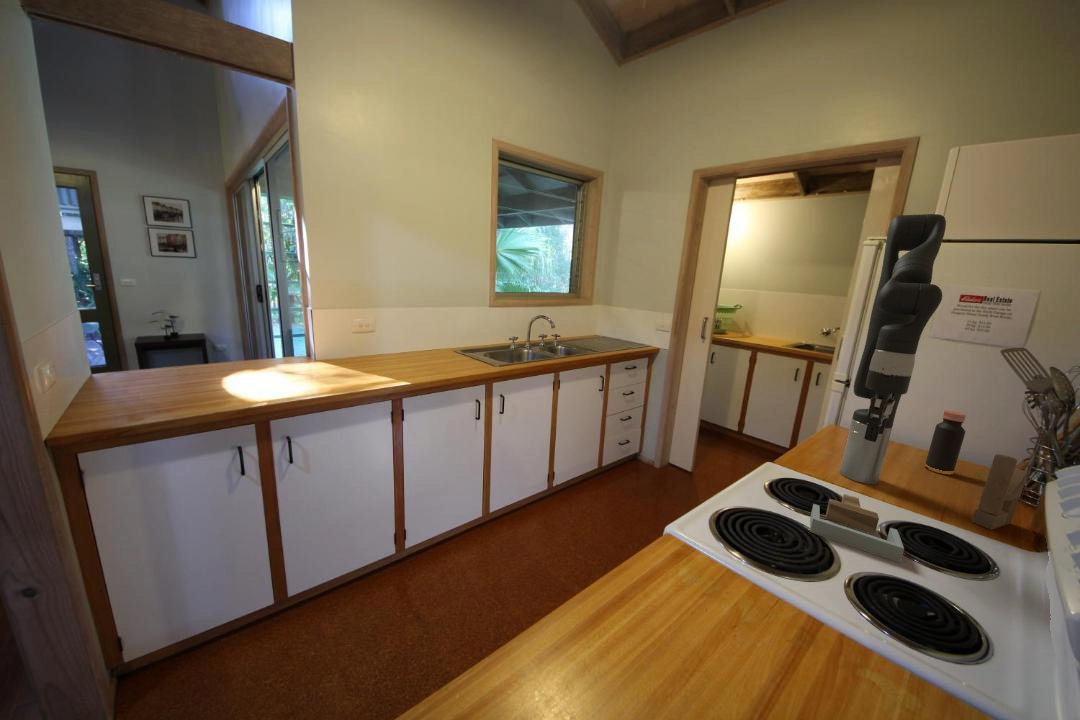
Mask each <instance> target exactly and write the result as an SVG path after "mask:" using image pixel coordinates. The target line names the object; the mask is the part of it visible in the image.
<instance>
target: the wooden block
mask: <svg viewBox="0 0 1080 720" xmlns="http://www.w3.org/2000/svg"><path fill="white" fill-rule="evenodd" d="M1017 463H1018V460H1017V458H1015V457H1012V456H1008V455H1005V454H1000V453H999V454H997V453H996V454H995V455H994V457H993V460H992V464H991V466H990V469H989V471H988V475H987V478H986V482H985V485H984V488H983V492H982V493H981V494H982V495H981V496H980V497H981V498H980V501H979V503H978V508H977V509H975V510H974V514H973V517H972V519H971V523H973V524H976V525H978V526H980V527H983V528H985V529H987V530H990V531H993V530H995V529H997V528H1002V527H1004V526H1008V525H1010V524H1012V522H1013V518H1014V515H1015V513H1016V512H1015V511H1016V509H1017V506H1018V504H1019V500H1020V498H1021V495H1022V493H1023V489H1024V487H1025V484H1026V480H1027V477H1028V474H1029V471H1028V470H1027V471H1026V470H1023V469H1020V468H1019V467H1018V468H1017V467H1016V466H1017Z"/></svg>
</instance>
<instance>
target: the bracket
mask: <svg viewBox="0 0 1080 720" xmlns="http://www.w3.org/2000/svg"><path fill="white" fill-rule="evenodd" d="M820 515H821V514H820V505H818V504H815V503H813V504H812V508H811V513H810V517H809V518H810V520H809V521H810V522H809V523H810V524H809V532H810V533H813V534H815V535H818V536H821V537H824V538H827V539H829V540H832V541H835V542H838V543H841V544H843V545H847V546H848V547H849V546H850V547H853V548H855V549H858V550H861V551H864V552H867V553H870V554H873V555H875V556H878V557H880V558H881V557H882V558H885V559H887V560H890V561H893V562H895V563H896V562H897V563H899V564H900V563H901V561H902V557H903V554H904V550H905V547H904V545H903V542H902V539H901V536H900V533H899V532H898V529H896V528H893V527H889V531H888V534H887V538H886V539H884V538H880V537H877V536H875V535H872V534H869V533H866V532H862V531H860V530H859V531H858V530H857V529H854V528H853V529H852V528H851V527H848V526H847V527H846V526H845V525H842V524H839V523H836V522H835V523H834V522H833V521H830V520H825V519H822V518H820V517H821V516H820Z"/></svg>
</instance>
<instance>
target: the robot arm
mask: <svg viewBox="0 0 1080 720" xmlns="http://www.w3.org/2000/svg"><path fill="white" fill-rule="evenodd" d="M946 226H947V220H946V218H945V216H944V215H942V214H938V213H937V214H936V213H929V214H928V213H925V214H924V213H923V214H902V215H897V216H894V218H893V219H892V220H891V222H890V223H889V227H888V231H887V235H886V241H885V249H884V253H883V254H884V255H883V260H882V266H881V273H880V276H879V277H880V278H879V282H878V286H877V289H876V293H875V296H874V299H873V305H872V309H871V312H870V313H871V314H870V318H869V323H868V329H867V333H866V334H867V335H866V340H865V344H864V347H863V352H862V355H861V359H860V362H859V365H858V368H857V373H856V375H855V379H854V383H853V393H854V395H855V396H856V397H858V398H862V399H867V400H869V407H868V408H859V409H855V410H854V412H853V413H852V419H851V423H850V427H849V431H848V435H847V440H846V443H845V448H844V451H843V456H842V460H841V463H840V468H839V473H840V475H842V476H843V477H845V478H847V479H849V480H852V481H855V482H858V483H862V484H867V485H877V484H878V483H879V480H880V476H881V472H882V468H883V464H884V461H885V457H886V454H887V449H888V446H889V443H890V442H889V441H890V437H891V433H892V429H893V426H894V422H895V417H896V413H897V410H898V406H899V403H900V401H901V397H902V396H903V395H907V393H908V391H909V387H910V383H911V379H912V375H913V372H914V368H915V363H916V353H917V350H918V346H919V342H920V339H921V336H922V334H923V331H924V329H925V328H926V326H927V324H928V322H930V321H929V320H930V319H931V318H932V316H933V315H934V313H936V311H937V309H938V308H939V306H940V304H941V302H942V300H943V291H942V290H941V288H940V287H939V285H936V284H933V283H932V281H933V279H932V278H933V271H934V264H935V260H936V258H937V256H938V254H939V252H940V248H941V245H942V242H943V240H944V236H945V232H946ZM900 252H906V253H905V254H903V255H902V256H899V255H900Z"/></svg>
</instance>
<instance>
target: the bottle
mask: <svg viewBox="0 0 1080 720" xmlns="http://www.w3.org/2000/svg"><path fill="white" fill-rule="evenodd" d="M966 416H967V415H966V414H963V413H961V412H956V411H950V410H944V411H943V415H942V422H939V423H937V424H935V427H934V432H933V434H932V435H933V436H932V438H931V441H930V446H929V450H928V452H927V453H928V454H927V457H926V460H925V463H926V464H927V465H928V466H930V467H932V468H935V469H939V470H942V471H954V472H955V469H956V465H957V463H958V459H959V455H960V451H961V448H962V445H963V442H964V439H965V435H966V430H965V428H964V427H963V424H964V422H965V420H966Z"/></svg>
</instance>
